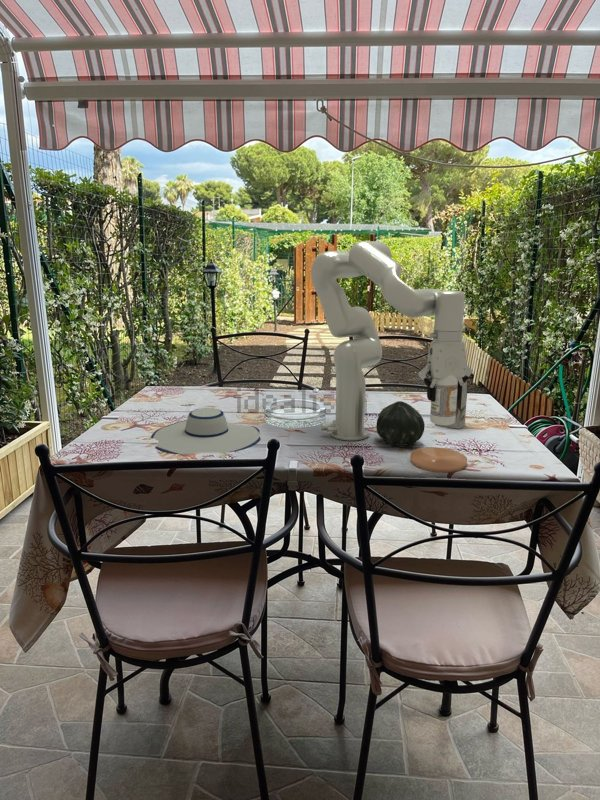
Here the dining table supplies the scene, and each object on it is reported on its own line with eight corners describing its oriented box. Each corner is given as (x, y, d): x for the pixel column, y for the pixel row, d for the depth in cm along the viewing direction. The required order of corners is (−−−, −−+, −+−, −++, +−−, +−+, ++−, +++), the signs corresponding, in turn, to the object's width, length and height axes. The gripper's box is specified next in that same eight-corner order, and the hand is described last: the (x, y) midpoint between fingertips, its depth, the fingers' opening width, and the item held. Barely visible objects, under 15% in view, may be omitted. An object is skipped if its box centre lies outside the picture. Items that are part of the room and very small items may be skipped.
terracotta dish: (425, 474, 151) (426, 469, 151) (401, 454, 166) (401, 449, 166) (477, 469, 155) (478, 464, 155) (449, 450, 170) (449, 445, 170)
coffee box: (465, 425, 195) (469, 380, 191) (459, 429, 190) (463, 383, 185) (440, 420, 200) (443, 377, 195) (433, 425, 194) (437, 380, 190)
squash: (409, 416, 186) (388, 387, 178) (440, 430, 173) (418, 399, 165) (382, 447, 184) (359, 419, 176) (411, 463, 171) (387, 434, 163)
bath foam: (446, 427, 152) (451, 355, 147) (425, 422, 157) (428, 352, 152) (459, 422, 157) (464, 352, 152) (438, 417, 162) (442, 349, 157)
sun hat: (136, 432, 187) (134, 406, 185) (232, 416, 206) (232, 393, 204) (173, 466, 158) (171, 436, 155) (282, 444, 176) (282, 416, 174)
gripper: (424, 339, 145) (421, 405, 150) (483, 337, 150) (478, 400, 154) (412, 336, 152) (409, 398, 157) (468, 333, 157) (464, 394, 161)
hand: (443, 399), depth 155 cm, fingers closed on bath foam, 7 cm apart
